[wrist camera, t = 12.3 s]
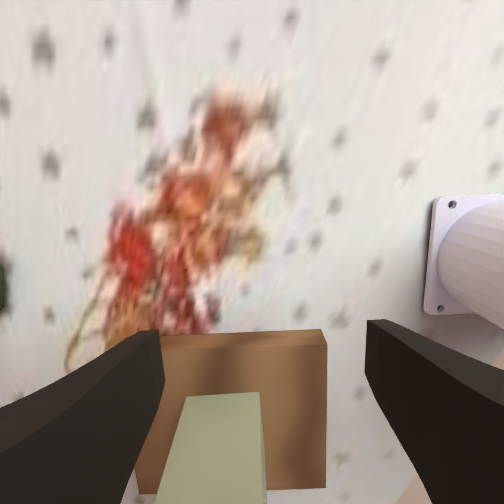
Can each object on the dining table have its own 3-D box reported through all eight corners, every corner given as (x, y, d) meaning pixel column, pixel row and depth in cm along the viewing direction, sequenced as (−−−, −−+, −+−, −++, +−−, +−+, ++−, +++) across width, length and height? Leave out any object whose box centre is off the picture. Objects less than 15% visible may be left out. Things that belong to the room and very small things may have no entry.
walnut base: (320, 329, 22) (327, 344, 20) (319, 463, 25) (325, 488, 23) (126, 337, 22) (114, 353, 20) (148, 469, 25) (139, 494, 23)
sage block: (259, 391, 21) (262, 522, 13) (264, 451, 22) (270, 602, 14) (186, 396, 21) (146, 528, 13) (195, 455, 22) (164, 608, 14)
